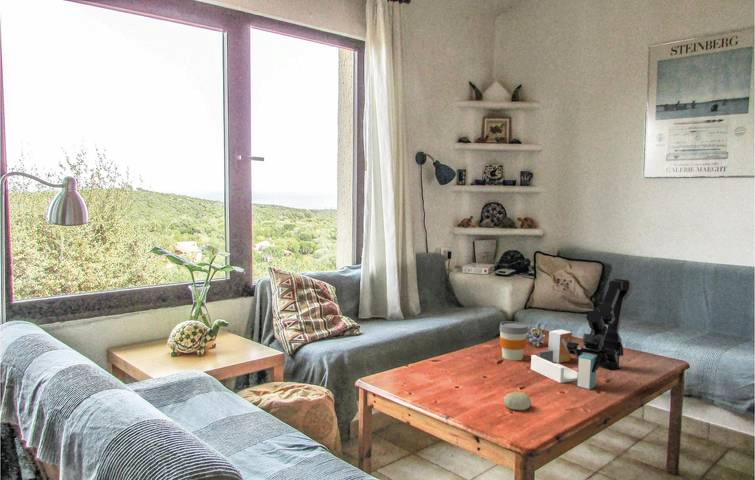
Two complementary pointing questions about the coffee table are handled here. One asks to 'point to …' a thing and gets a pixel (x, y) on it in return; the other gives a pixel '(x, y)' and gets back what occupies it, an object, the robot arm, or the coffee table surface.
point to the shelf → (552, 367)
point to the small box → (559, 345)
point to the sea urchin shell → (517, 401)
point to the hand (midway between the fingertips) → (585, 370)
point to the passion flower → (534, 335)
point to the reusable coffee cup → (513, 339)
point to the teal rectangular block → (586, 371)
